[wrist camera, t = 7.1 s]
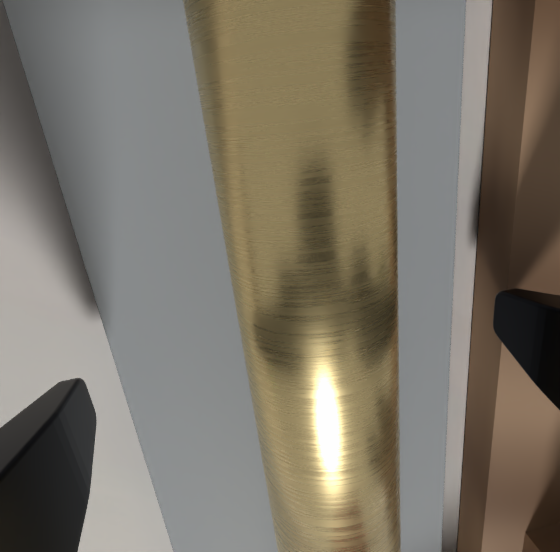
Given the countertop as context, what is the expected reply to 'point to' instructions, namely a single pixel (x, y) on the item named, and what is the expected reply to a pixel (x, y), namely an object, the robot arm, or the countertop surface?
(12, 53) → the countertop surface
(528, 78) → the stand
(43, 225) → the countertop surface
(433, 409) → the mat
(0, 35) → the countertop surface
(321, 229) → the rail
